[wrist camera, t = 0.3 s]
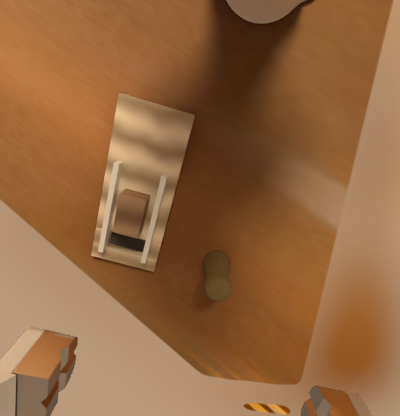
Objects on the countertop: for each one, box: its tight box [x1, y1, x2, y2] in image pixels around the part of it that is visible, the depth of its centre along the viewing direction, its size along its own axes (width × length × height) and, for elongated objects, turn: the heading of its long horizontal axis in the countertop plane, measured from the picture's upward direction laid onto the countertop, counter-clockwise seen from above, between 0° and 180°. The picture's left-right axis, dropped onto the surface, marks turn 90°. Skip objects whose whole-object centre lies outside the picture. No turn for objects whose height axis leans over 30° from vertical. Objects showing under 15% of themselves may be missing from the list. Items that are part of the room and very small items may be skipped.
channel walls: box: [98, 161, 168, 264], centre depth 54 cm, size 19×10×2 cm, turn 164°
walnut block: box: [112, 188, 150, 238], centre depth 53 cm, size 8×5×4 cm, turn 164°
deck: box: [91, 93, 195, 272], centre depth 55 cm, size 34×14×2 cm, turn 164°
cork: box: [203, 251, 231, 301], centre depth 56 cm, size 6×6×11 cm
